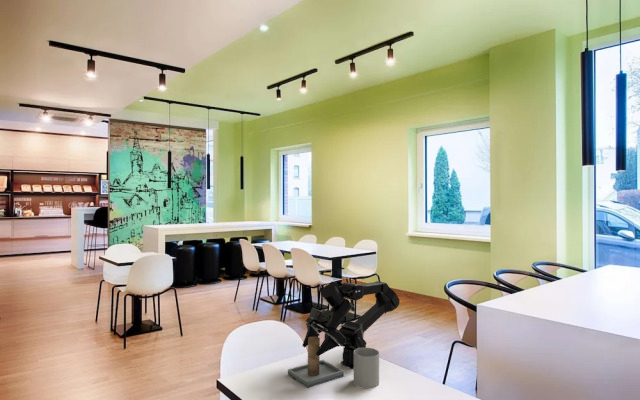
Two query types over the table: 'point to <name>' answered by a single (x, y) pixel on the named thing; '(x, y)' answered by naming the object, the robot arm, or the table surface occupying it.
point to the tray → (325, 374)
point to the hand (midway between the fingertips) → (309, 350)
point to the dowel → (313, 356)
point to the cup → (366, 367)
